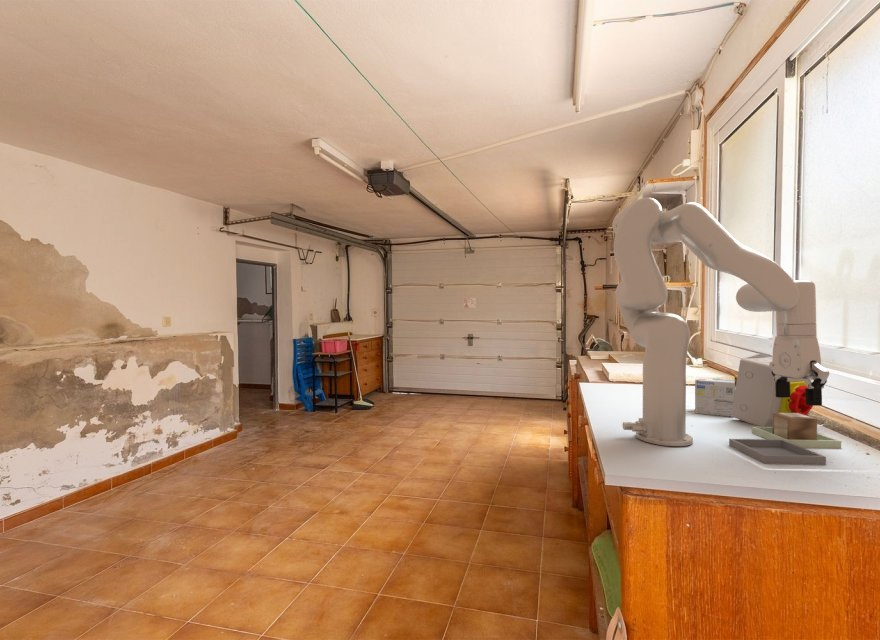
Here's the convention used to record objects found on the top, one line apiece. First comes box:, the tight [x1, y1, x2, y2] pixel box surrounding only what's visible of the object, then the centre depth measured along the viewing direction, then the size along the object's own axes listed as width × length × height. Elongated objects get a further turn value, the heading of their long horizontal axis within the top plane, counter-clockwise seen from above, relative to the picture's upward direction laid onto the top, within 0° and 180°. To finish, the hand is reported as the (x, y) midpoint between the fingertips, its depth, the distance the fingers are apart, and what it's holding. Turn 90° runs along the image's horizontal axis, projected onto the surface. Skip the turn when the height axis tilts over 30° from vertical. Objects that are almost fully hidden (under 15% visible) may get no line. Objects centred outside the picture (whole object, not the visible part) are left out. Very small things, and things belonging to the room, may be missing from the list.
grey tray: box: [728, 438, 827, 466], centre depth 94 cm, size 12×12×2 cm
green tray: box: [751, 426, 842, 449], centre depth 105 cm, size 12×12×2 cm
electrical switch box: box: [731, 353, 814, 427], centre depth 119 cm, size 15×15×20 cm
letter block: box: [772, 413, 818, 440], centre depth 105 cm, size 6×6×6 cm
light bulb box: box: [694, 376, 736, 418], centre depth 135 cm, size 11×7×11 cm, turn 58°
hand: (797, 401), depth 104 cm, fingers open, 9 cm apart
